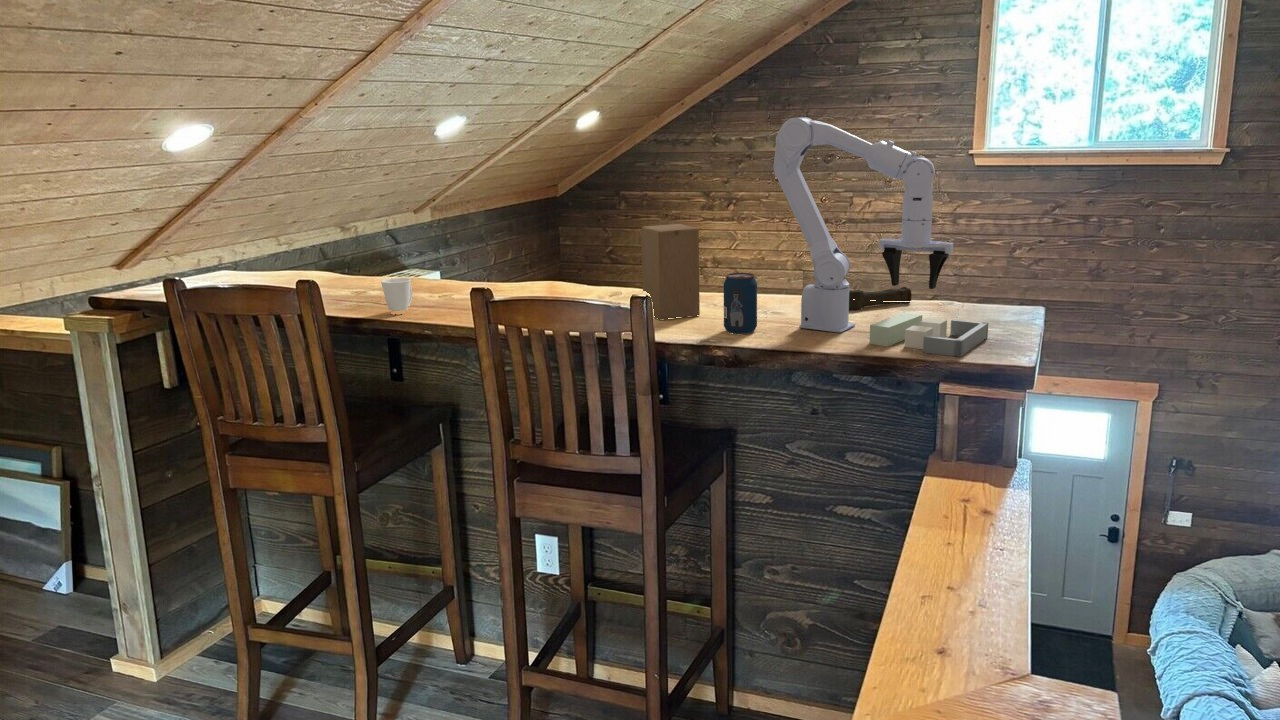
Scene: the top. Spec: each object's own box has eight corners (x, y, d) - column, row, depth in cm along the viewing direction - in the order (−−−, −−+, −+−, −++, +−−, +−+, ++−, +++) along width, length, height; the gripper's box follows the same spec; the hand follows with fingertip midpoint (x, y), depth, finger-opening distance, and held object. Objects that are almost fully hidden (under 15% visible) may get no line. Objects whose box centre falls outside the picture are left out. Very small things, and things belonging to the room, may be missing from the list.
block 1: (904, 347, 185) (905, 329, 184) (911, 342, 188) (912, 325, 187) (925, 349, 183) (925, 332, 182) (932, 345, 186) (933, 327, 185)
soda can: (750, 326, 205) (750, 271, 202) (761, 333, 199) (761, 276, 195) (719, 329, 204) (719, 273, 201) (729, 336, 197) (729, 278, 194)
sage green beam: (869, 344, 189) (870, 324, 188) (903, 331, 198) (904, 312, 197) (887, 347, 186) (888, 327, 185) (921, 334, 196) (922, 314, 195)
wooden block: (700, 316, 216) (699, 227, 211) (659, 321, 213) (657, 231, 208) (682, 308, 225) (680, 223, 220) (642, 313, 222) (640, 226, 217)
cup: (378, 316, 227) (374, 282, 225) (399, 307, 236) (396, 275, 234) (404, 317, 225) (401, 283, 223) (425, 308, 234) (422, 275, 232)
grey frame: (922, 352, 181) (923, 336, 180) (952, 333, 194) (953, 319, 193) (960, 356, 177) (961, 341, 176) (987, 337, 190) (988, 322, 189)
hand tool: (902, 301, 227) (902, 282, 225) (912, 304, 223) (913, 285, 222) (832, 310, 221) (832, 290, 219) (841, 313, 217) (841, 293, 216)
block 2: (919, 338, 191) (920, 321, 191) (926, 334, 195) (927, 317, 194) (939, 341, 189) (940, 323, 188) (946, 336, 192) (947, 319, 191)
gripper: (874, 219, 192) (872, 286, 195) (947, 223, 184) (943, 293, 187) (887, 216, 197) (884, 281, 201) (958, 219, 189) (954, 287, 193)
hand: (913, 286), depth 194 cm, fingers open, 7 cm apart
